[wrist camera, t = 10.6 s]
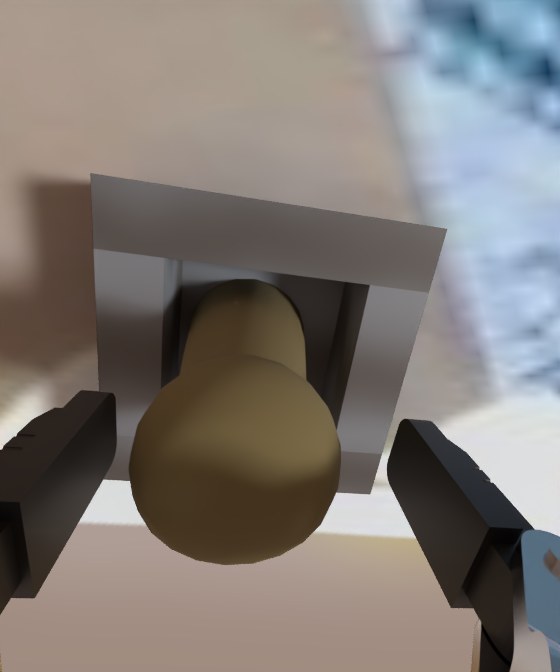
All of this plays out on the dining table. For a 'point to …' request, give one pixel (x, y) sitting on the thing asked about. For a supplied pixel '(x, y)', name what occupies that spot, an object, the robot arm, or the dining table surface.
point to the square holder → (268, 266)
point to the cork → (237, 435)
